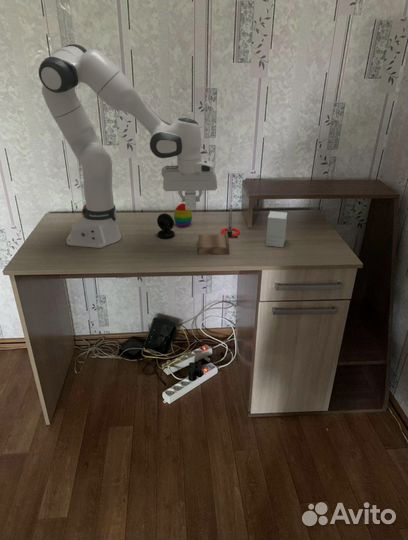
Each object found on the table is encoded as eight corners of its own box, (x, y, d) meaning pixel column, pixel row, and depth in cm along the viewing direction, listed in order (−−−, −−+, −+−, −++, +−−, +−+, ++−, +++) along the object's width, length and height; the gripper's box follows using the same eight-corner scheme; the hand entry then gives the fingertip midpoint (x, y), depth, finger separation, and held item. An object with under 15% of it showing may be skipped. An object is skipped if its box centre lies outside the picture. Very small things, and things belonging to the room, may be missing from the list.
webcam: (153, 236, 174) (152, 215, 169) (162, 230, 180) (161, 209, 175) (169, 240, 171) (168, 218, 166) (178, 233, 177) (177, 212, 172)
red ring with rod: (222, 229, 182) (219, 237, 174) (223, 201, 176) (220, 208, 168) (240, 230, 181) (239, 238, 173) (242, 202, 175) (240, 209, 167)
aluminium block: (185, 209, 154) (184, 194, 151) (186, 204, 158) (185, 189, 155) (196, 209, 154) (195, 194, 151) (196, 204, 158) (195, 189, 155)
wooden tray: (198, 254, 160) (198, 243, 158) (198, 241, 170) (198, 231, 168) (228, 254, 160) (229, 243, 158) (227, 241, 170) (227, 231, 168)
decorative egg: (188, 228, 181) (188, 207, 176) (171, 226, 183) (170, 205, 178) (194, 222, 188) (194, 201, 183) (177, 220, 190) (177, 199, 185)
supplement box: (285, 240, 171) (288, 212, 165) (283, 247, 165) (286, 218, 159) (267, 238, 173) (270, 210, 167) (265, 245, 167) (267, 217, 160)
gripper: (160, 168, 145) (162, 204, 152) (217, 167, 145) (217, 203, 152) (161, 163, 151) (164, 198, 158) (216, 162, 151) (216, 198, 157)
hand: (190, 201), depth 155 cm, fingers closed on aluminium block, 4 cm apart
